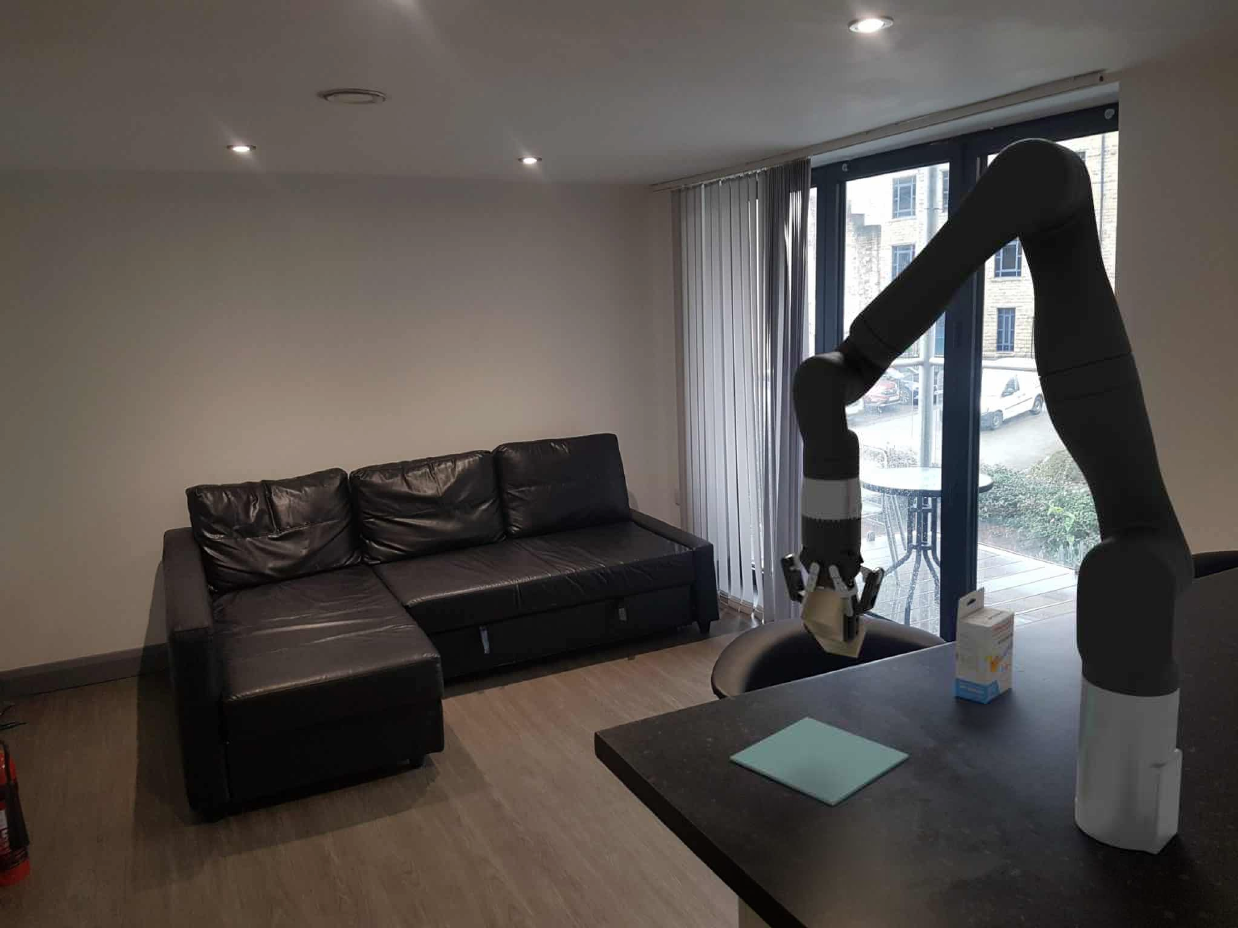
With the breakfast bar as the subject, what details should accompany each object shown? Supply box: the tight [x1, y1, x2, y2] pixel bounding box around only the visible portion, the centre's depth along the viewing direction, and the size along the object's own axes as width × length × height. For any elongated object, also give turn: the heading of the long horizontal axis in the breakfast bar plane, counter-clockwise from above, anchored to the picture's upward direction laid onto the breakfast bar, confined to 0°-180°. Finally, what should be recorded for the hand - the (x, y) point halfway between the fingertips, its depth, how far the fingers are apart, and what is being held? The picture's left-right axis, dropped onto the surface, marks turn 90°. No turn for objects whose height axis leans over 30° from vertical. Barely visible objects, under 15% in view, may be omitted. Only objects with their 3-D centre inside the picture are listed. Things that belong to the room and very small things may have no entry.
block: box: [799, 587, 868, 659], centre depth 125 cm, size 4×4×10 cm
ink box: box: [954, 586, 1015, 705], centre depth 138 cm, size 8×5×15 cm, turn 134°
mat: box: [729, 716, 909, 807], centre depth 122 cm, size 16×16×1 cm
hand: (831, 636), depth 124 cm, fingers closed on block, 4 cm apart
